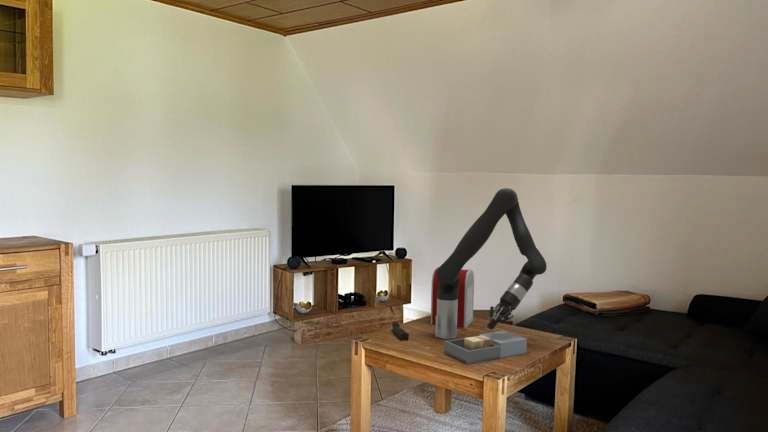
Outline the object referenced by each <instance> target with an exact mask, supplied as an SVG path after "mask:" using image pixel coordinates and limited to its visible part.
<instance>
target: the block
mask: <svg viewBox="0 0 768 432" xmlns="http://www.w3.org/2000/svg"><path fill="white" fill-rule="evenodd" d="M463 338H464V349H466V350H468V351H469V350H476V349H482V348H488V347H491V339H490V338H487V337H485V336H479V335H475V336H469V337H463Z"/></svg>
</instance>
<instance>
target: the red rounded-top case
mask: <svg viewBox="0 0 768 432" xmlns="http://www.w3.org/2000/svg"><path fill="white" fill-rule="evenodd" d="M439 267H440V266H437V267H436V268H435V269H434V270H433V271H432V272H433V273H432V274H431V275H432V277H431V288H430V289H431V293H430V294H431V296H430V297H431V299H430V325H434V326H435V325H436V315H437V292H438V289H439V282H438V280H437V277H436V273H437V269H438V268H439ZM459 273H460V277H459V292H458V308H457V328H458V329H459V328H460V329H461V328H462V329H466V328H468V326H469V325H471V323H472V322H474V293H475V292H474V291H475V275H474V274H475V273H474V271H473V269H470V268H462V269H461V271H460V272H459Z"/></svg>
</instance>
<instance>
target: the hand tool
mask: <svg viewBox="0 0 768 432" xmlns="http://www.w3.org/2000/svg"><path fill="white" fill-rule="evenodd" d="M392 332H393V334H396V335H397V336H398V337H399V340H400V341H401V342H403V341H402V340H407V341H408V340H409V337H410V333H408V332H406V331H405V329H402V327H400V324H399V322H397V321H392Z"/></svg>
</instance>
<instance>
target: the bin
mask: <svg viewBox="0 0 768 432" xmlns="http://www.w3.org/2000/svg"><path fill="white" fill-rule="evenodd" d="M464 338H465V337H462V338H454V339H448V340H444V344H443V345H444V346H443V347H444V348H443V349H444V351H443V353H444V354H446V355H448V356H449V357H452V358H454V359H456V360H458V361H460V362H462V363H464V364H466V365H472V364H478V363H483V362H490V361H495V360H496V361H497V360H501V358H500V352H501V346H498V345H496V344H494V343H491V347H488V348H482V349H476V350H469V351H468V350H466V349H464Z"/></svg>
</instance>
